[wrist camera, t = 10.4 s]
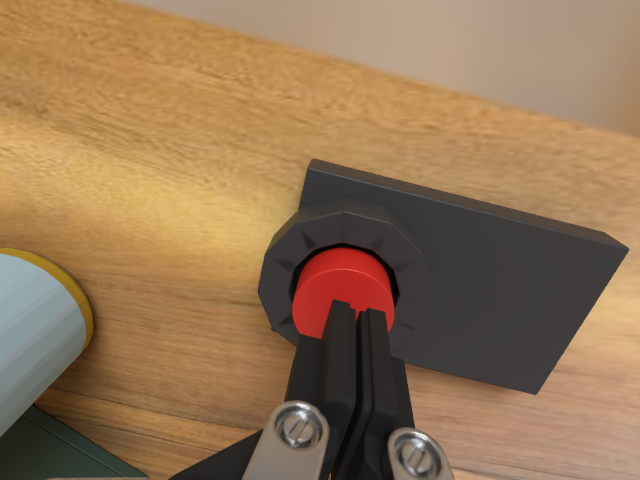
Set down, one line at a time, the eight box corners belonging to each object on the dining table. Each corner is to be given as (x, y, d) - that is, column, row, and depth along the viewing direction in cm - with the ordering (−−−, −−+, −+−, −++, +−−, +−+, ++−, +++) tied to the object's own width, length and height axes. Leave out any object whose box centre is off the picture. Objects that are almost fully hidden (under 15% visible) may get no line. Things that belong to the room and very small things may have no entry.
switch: (262, 307, 19) (245, 353, 16) (294, 153, 16) (280, 173, 13) (522, 370, 20) (555, 428, 17) (605, 232, 16) (665, 270, 13)
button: (290, 314, 16) (282, 342, 14) (309, 236, 14) (303, 257, 13) (374, 335, 16) (377, 364, 14) (402, 259, 14) (408, 283, 13)
